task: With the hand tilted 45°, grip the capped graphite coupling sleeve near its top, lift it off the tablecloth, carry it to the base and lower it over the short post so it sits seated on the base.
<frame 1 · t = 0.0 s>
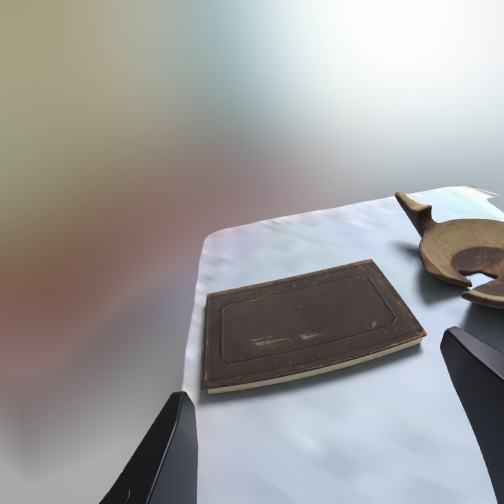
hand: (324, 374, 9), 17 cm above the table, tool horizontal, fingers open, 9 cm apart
oil lamp: (477, 270, 34), on the table
hardcover book: (305, 328, 34), on the table
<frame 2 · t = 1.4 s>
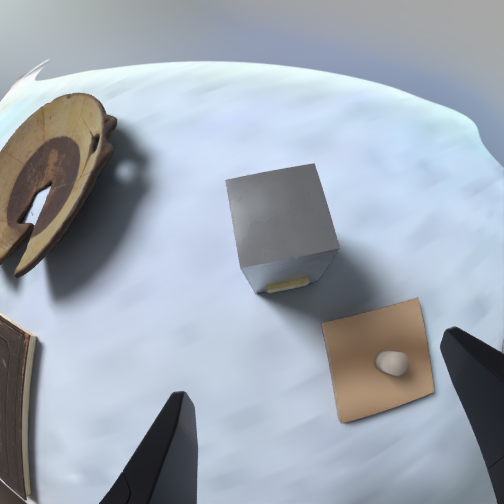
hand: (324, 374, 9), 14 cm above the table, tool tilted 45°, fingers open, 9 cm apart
oil lamp: (36, 190, 29), on the table
coupling sleeve: (280, 256, 24), on the table
post base: (378, 359, 21), on the table
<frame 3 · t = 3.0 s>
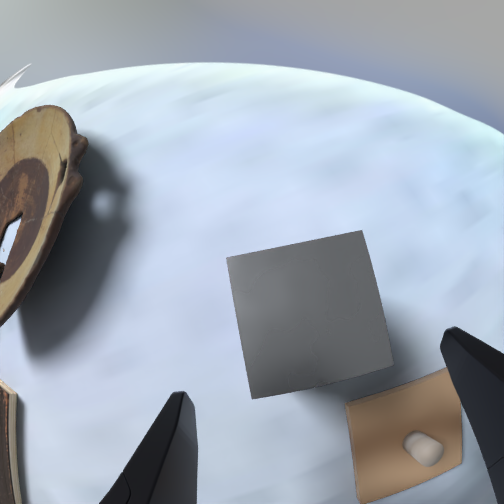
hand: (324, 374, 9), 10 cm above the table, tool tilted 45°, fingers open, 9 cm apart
oil lamp: (8, 220, 24), on the table
coupling sleeve: (297, 324, 18), on the table
post base: (406, 436, 15), on the table
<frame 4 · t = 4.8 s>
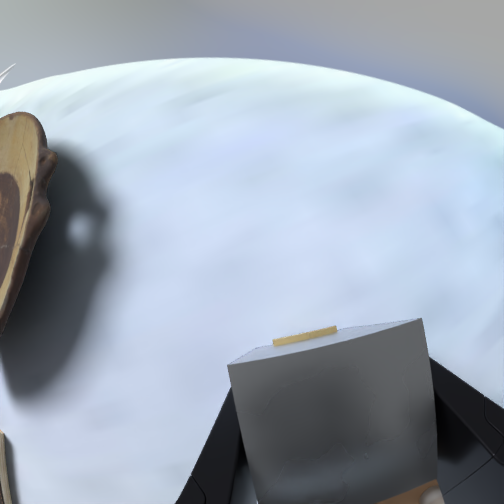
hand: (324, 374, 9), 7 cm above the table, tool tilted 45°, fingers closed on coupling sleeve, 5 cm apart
coupling sleeve: (310, 383, 15), on the table, touching gripper
post base: (423, 488, 12), on the table
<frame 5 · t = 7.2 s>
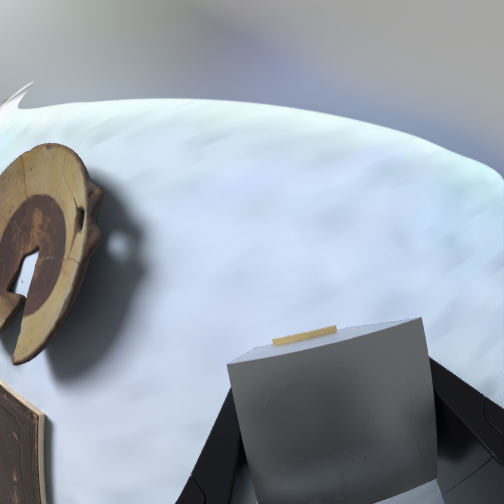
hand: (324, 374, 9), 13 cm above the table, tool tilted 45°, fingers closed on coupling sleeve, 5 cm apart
oil lamp: (23, 252, 27), on the table
hardcover book: (8, 454, 20), on the table
coupling sleeve: (310, 382, 15), point 7 cm above the table, touching gripper
when the fingers open (9 cm above the table, at t = 9.8 s): coupling sleeve drops 1 cm, resting on post base.
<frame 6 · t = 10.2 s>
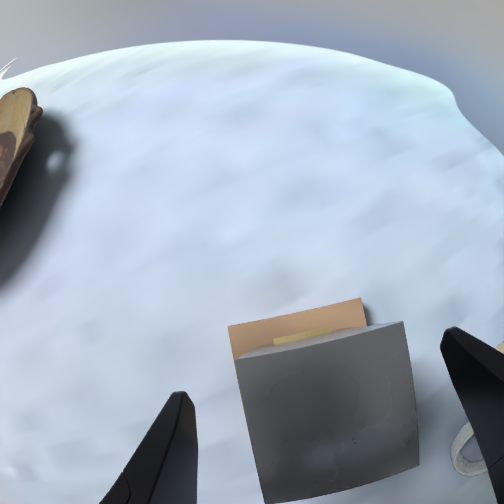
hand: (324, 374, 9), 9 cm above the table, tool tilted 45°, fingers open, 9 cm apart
ceramic mug: (492, 407, 15), on the table
coupling sleeve: (308, 379, 16), point 1 cm above the table, touching post base
post base: (306, 376, 17), on the table
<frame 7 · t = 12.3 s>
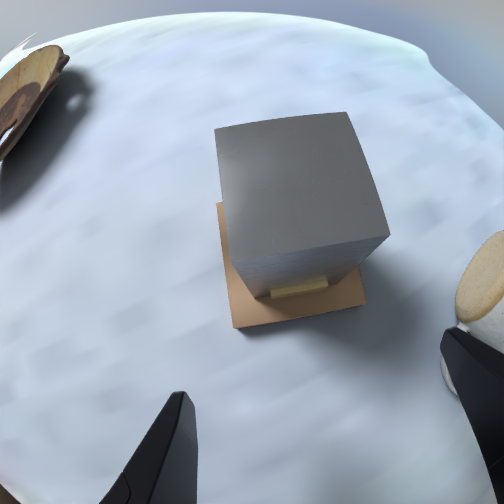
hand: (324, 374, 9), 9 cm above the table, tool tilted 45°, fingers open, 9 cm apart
ceramic mug: (481, 327, 17), on the table
oil lamp: (5, 130, 28), on the table
coupling sleeve: (288, 250, 18), point 1 cm above the table, touching post base
post base: (288, 256, 19), on the table
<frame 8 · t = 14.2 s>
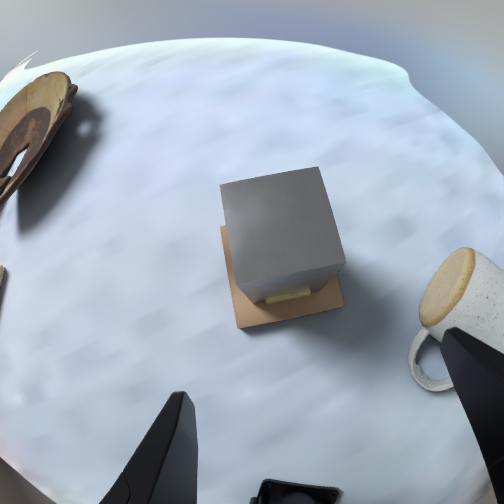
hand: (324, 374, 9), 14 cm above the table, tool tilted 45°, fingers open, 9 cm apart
ceramic mug: (447, 329, 21), on the table
oil lamp: (17, 152, 32), on the table
coupling sleeve: (280, 265, 22), point 1 cm above the table, touching post base
post base: (280, 268, 24), on the table
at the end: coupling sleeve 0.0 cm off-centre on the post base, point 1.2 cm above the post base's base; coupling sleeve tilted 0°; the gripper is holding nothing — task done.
